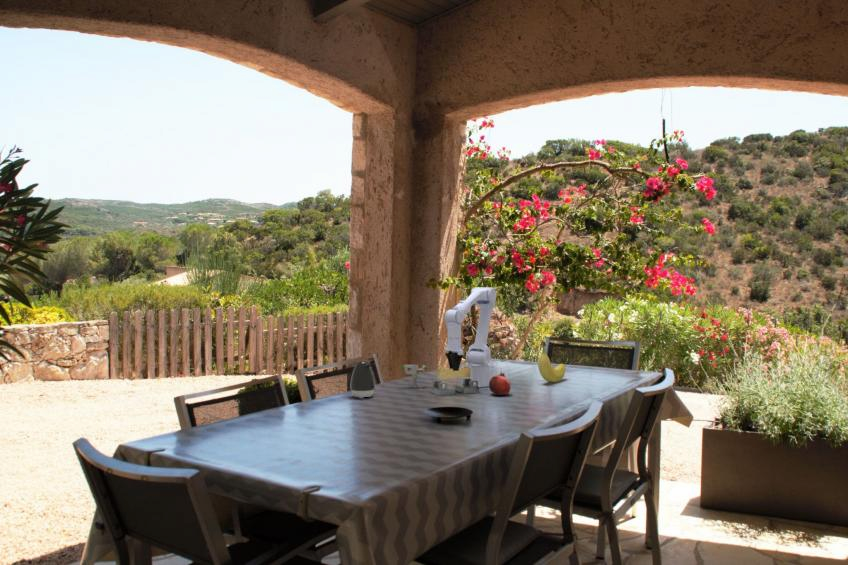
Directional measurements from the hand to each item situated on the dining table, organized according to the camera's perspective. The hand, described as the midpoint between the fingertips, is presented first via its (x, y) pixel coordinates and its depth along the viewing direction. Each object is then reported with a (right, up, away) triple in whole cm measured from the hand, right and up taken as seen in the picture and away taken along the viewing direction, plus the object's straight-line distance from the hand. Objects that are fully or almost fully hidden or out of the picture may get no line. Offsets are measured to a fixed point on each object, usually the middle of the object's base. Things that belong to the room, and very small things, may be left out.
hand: (454, 370), depth 302 cm
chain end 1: (-5, -10, -2) cm, 11 cm away
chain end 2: (+5, -9, +2) cm, 11 cm away
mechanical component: (-17, -9, +11) cm, 22 cm away
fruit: (+19, -10, -6) cm, 22 cm away
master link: (0, -3, 0) cm, 3 cm away
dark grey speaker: (-38, -10, -10) cm, 40 cm away
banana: (+46, -9, +23) cm, 52 cm away
